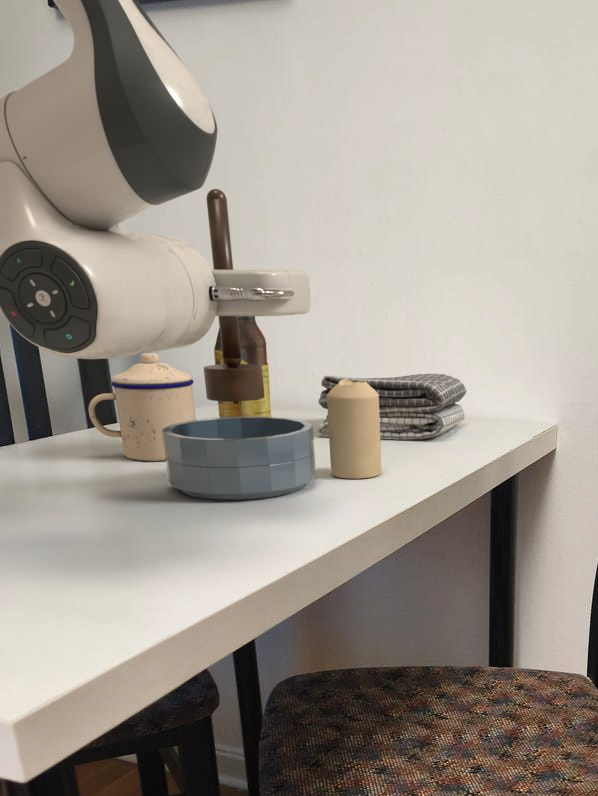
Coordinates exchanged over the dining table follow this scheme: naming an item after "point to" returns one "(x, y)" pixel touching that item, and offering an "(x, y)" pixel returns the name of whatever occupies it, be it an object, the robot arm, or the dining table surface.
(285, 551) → the dining table surface
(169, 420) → the teacup with lid
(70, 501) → the dining table surface
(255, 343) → the sauce bottle
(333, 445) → the candle
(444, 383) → the towel
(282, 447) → the bowl
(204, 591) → the dining table surface
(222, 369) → the brown wooden pestle
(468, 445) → the dining table surface
